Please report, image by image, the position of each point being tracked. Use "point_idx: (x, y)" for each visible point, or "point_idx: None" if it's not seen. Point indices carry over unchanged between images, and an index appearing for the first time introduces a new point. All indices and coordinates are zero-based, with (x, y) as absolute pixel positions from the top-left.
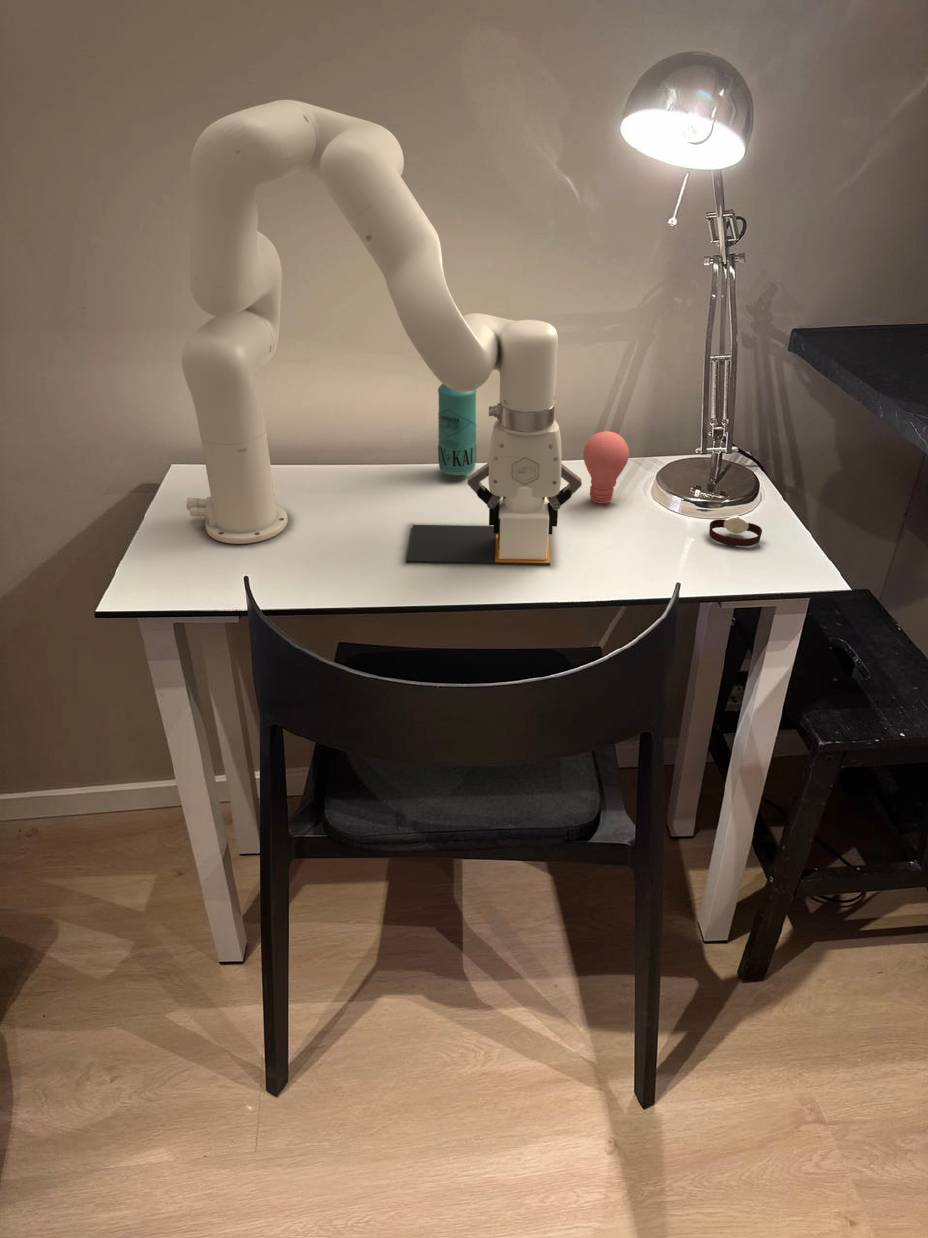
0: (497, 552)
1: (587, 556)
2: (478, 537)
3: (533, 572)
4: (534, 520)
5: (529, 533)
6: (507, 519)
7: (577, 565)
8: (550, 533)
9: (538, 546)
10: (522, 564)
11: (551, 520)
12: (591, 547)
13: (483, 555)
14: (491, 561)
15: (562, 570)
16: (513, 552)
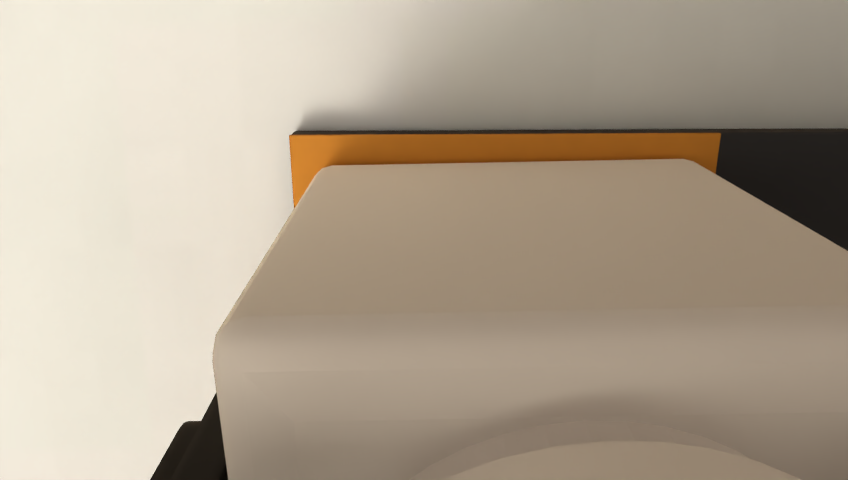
0: None
1: (31, 272)
2: None
3: (420, 23)
4: (429, 305)
5: (478, 234)
6: (835, 299)
7: (88, 144)
8: None
9: (378, 191)
10: (503, 130)
11: (218, 422)
12: (19, 387)
13: None
14: (745, 143)
15: (195, 64)
16: (594, 171)
